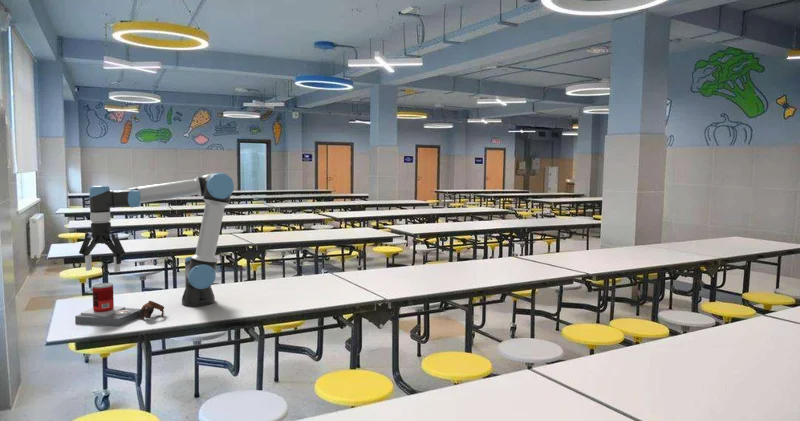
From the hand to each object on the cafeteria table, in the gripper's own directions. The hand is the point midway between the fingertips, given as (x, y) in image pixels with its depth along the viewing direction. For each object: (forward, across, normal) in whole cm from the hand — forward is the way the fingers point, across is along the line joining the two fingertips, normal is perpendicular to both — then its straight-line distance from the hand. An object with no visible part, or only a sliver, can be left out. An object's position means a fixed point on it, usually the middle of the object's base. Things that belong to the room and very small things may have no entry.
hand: (102, 270), depth 231 cm
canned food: (+17, 0, 0) cm, 17 cm away
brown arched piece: (+22, -18, -6) cm, 29 cm away
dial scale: (+21, -3, 0) cm, 21 cm away
